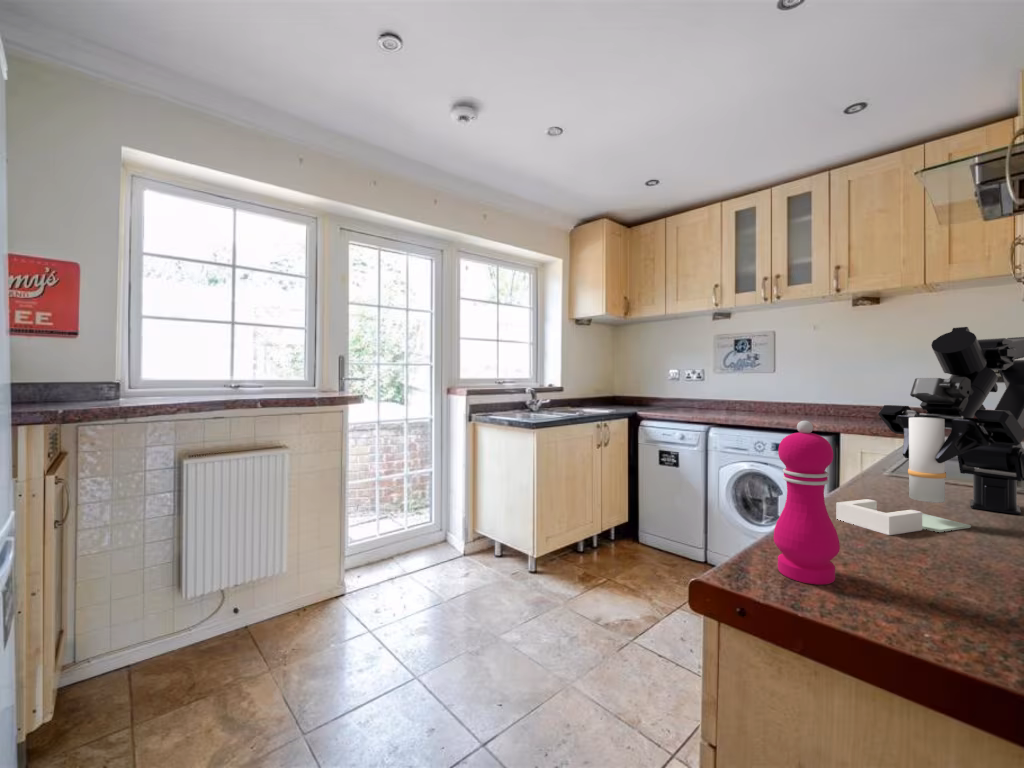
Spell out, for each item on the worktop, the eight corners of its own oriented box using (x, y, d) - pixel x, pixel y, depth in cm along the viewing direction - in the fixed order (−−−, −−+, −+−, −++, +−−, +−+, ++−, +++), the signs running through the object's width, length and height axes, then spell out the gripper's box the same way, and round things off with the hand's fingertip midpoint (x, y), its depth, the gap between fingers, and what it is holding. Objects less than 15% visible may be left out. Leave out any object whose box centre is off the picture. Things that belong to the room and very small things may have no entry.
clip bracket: (867, 515, 84) (867, 498, 84) (922, 530, 76) (922, 512, 76) (836, 519, 82) (836, 502, 82) (889, 535, 74) (889, 516, 73)
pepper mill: (849, 577, 58) (849, 420, 58) (824, 592, 54) (823, 424, 54) (789, 559, 64) (788, 417, 64) (763, 571, 60) (762, 420, 60)
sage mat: (916, 514, 84) (916, 512, 84) (970, 527, 77) (970, 525, 77) (885, 518, 82) (885, 516, 82) (937, 532, 74) (937, 530, 74)
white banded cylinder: (909, 493, 83) (909, 416, 83) (946, 498, 79) (946, 418, 79) (906, 499, 79) (906, 418, 79) (945, 504, 76) (945, 420, 76)
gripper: (884, 363, 89) (842, 422, 86) (1012, 359, 71) (965, 433, 68) (913, 402, 92) (873, 461, 89) (1044, 407, 74) (1000, 482, 71)
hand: (920, 458), depth 79 cm, fingers closed on white banded cylinder, 5 cm apart
